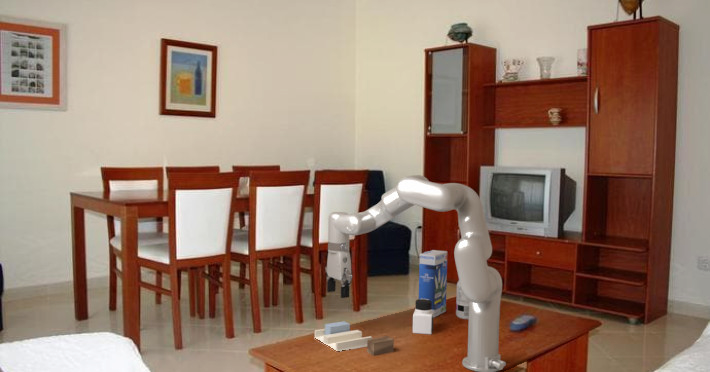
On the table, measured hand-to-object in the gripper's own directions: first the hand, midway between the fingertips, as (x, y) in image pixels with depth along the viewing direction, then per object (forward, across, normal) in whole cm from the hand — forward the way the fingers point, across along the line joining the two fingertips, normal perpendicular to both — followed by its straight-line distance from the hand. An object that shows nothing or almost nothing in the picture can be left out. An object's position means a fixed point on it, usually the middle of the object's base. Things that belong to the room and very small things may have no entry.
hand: (337, 294), depth 212 cm
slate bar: (+15, 0, 0) cm, 15 cm away
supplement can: (+16, 0, -61) cm, 63 cm away
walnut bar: (+16, -19, -6) cm, 26 cm away
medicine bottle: (+16, -8, -33) cm, 38 cm away
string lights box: (+16, +10, -52) cm, 55 cm away
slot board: (+16, -4, 0) cm, 17 cm away
